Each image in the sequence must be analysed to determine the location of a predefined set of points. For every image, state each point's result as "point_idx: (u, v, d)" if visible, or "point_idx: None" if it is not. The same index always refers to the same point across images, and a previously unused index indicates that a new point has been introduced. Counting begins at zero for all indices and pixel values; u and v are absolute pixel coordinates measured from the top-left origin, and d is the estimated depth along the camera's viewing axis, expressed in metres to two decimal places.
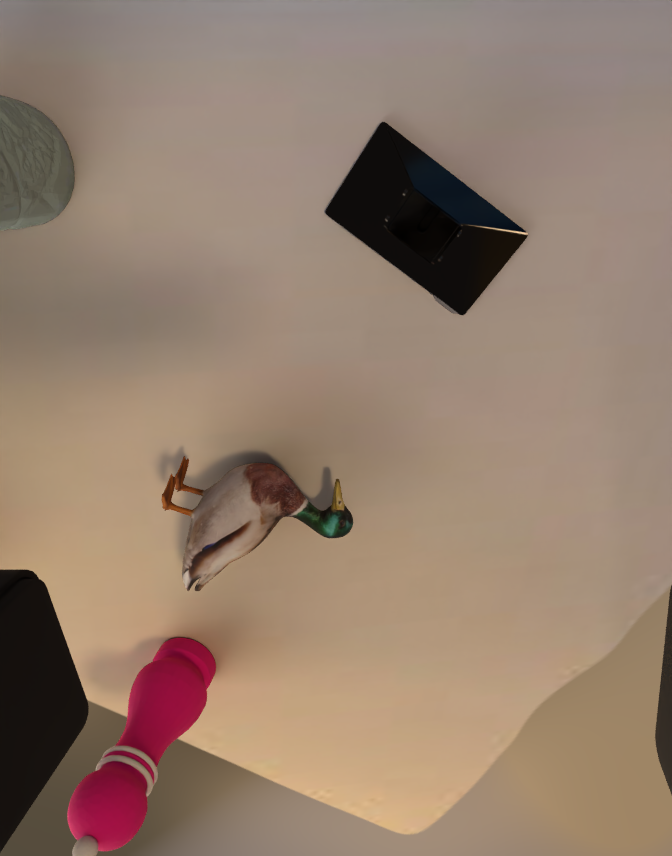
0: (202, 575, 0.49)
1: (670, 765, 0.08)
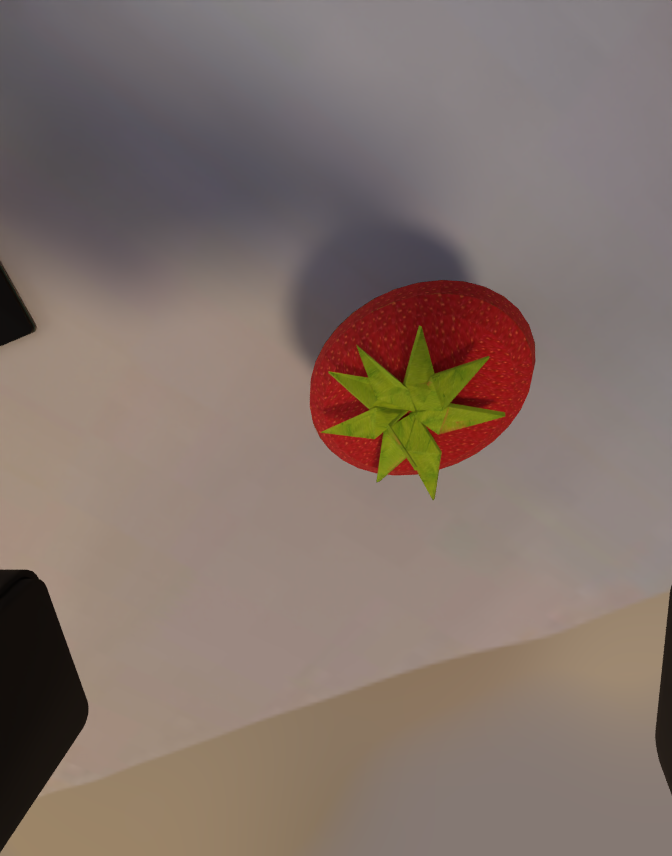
0: None
1: (670, 765, 0.08)
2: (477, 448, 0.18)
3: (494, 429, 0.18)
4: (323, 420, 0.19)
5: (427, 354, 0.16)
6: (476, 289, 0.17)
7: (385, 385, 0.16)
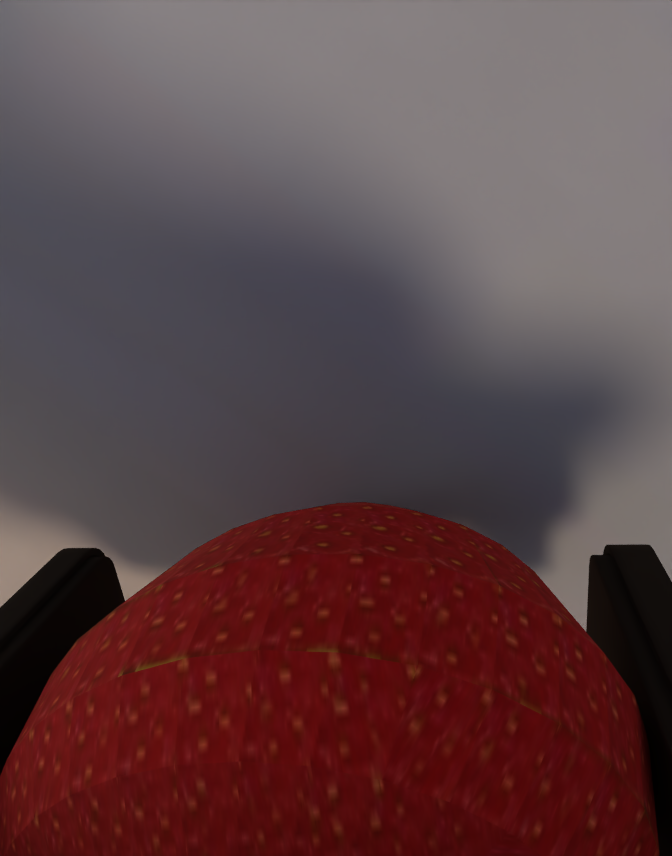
0: None
1: None
2: None
3: None
4: None
5: None
6: (469, 607, 0.05)
7: None
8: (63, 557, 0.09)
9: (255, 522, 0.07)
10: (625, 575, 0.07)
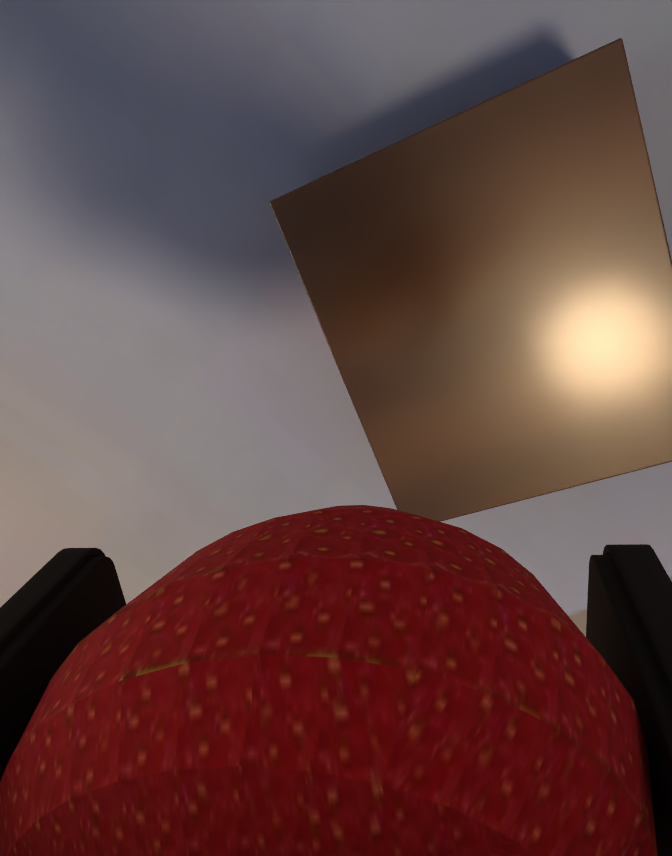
0: None
1: None
2: None
3: None
4: None
5: None
6: (468, 611, 0.05)
7: None
8: (63, 557, 0.09)
9: (255, 526, 0.08)
10: (625, 575, 0.07)
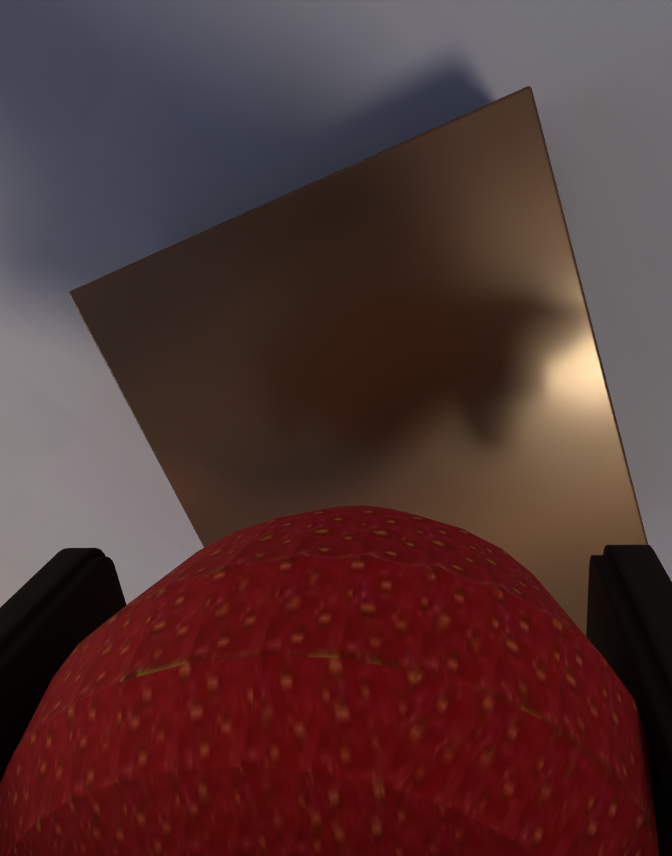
0: None
1: None
2: None
3: None
4: None
5: None
6: (471, 612, 0.05)
7: None
8: (63, 557, 0.09)
9: (256, 526, 0.08)
10: (625, 575, 0.07)
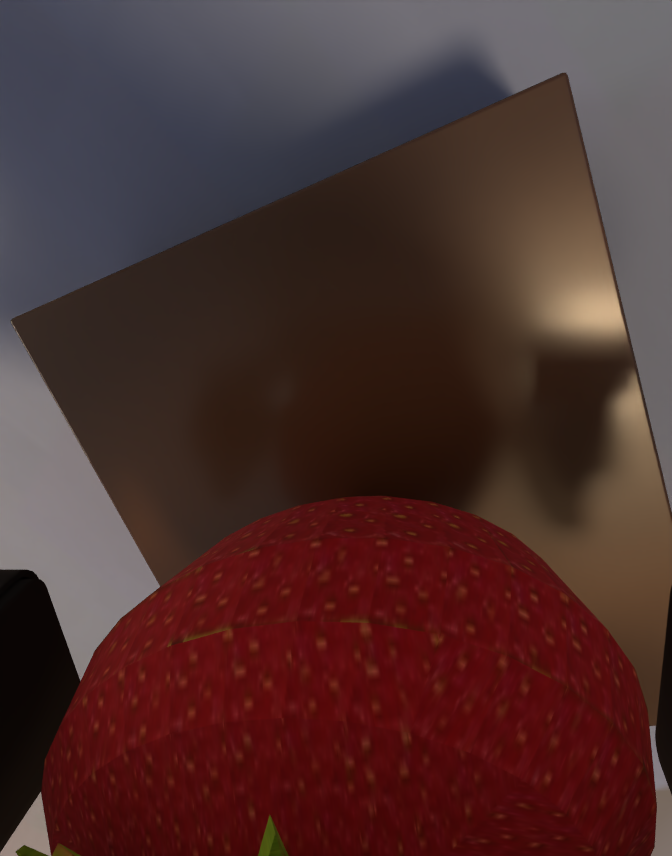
0: None
1: (669, 765, 0.08)
2: None
3: None
4: None
5: None
6: (485, 585, 0.06)
7: None
8: None
9: (282, 512, 0.08)
10: None
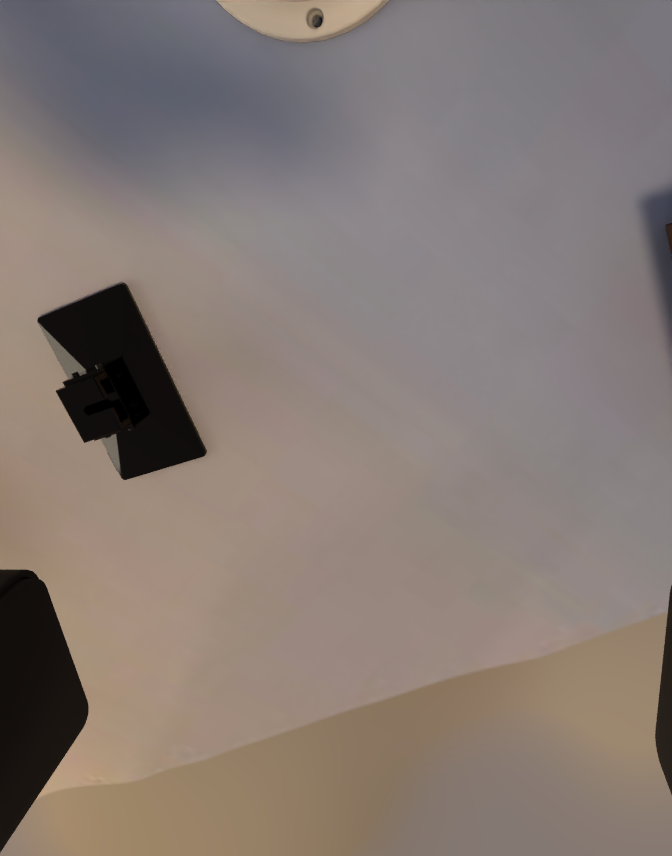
0: None
1: (669, 765, 0.08)
2: None
3: None
4: None
5: None
6: None
7: None
8: None
9: None
10: None
